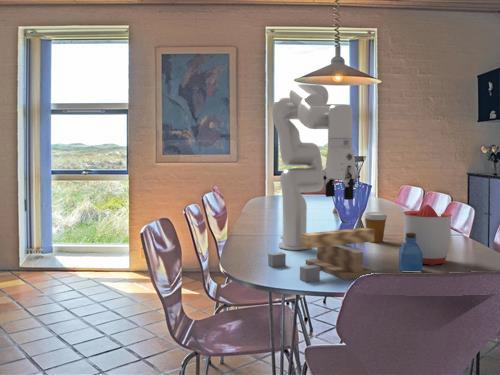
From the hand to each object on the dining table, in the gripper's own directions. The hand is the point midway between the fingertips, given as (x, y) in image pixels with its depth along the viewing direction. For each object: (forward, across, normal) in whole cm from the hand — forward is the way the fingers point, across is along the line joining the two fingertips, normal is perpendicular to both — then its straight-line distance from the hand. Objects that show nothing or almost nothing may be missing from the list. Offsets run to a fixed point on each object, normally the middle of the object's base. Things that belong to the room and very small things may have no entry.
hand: (339, 197), depth 149 cm
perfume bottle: (+24, -12, -20) cm, 33 cm away
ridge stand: (+23, 0, 0) cm, 23 cm away
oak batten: (+15, 0, 0) cm, 15 cm away
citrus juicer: (+24, -4, -35) cm, 42 cm away
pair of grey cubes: (+23, +4, +15) cm, 28 cm away
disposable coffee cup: (+24, +32, -43) cm, 58 cm away
